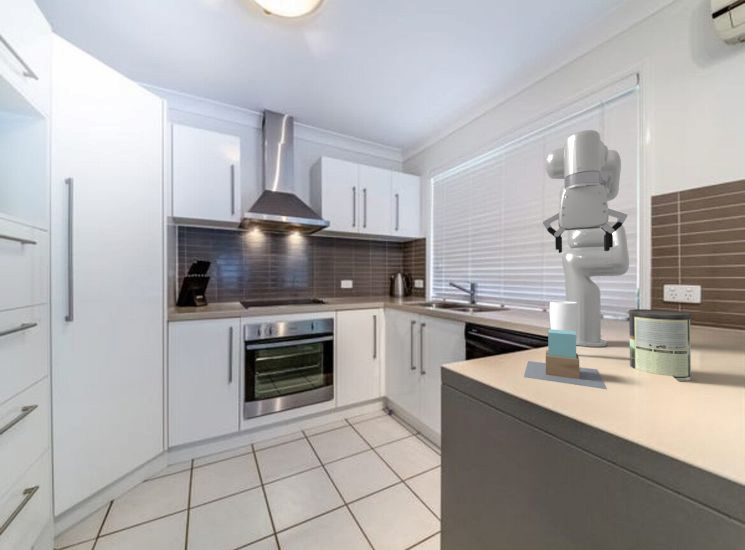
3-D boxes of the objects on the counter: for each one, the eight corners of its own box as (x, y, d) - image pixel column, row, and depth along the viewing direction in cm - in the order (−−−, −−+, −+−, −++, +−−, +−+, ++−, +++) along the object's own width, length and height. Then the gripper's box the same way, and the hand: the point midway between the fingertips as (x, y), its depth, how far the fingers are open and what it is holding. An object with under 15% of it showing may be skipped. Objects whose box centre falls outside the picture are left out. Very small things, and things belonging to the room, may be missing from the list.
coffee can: (618, 366, 75) (617, 309, 75) (664, 367, 74) (663, 309, 74) (652, 380, 64) (652, 314, 64) (706, 382, 63) (705, 314, 63)
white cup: (544, 355, 86) (543, 301, 86) (559, 352, 89) (559, 300, 89) (568, 360, 80) (568, 303, 80) (584, 357, 82) (583, 302, 83)
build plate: (528, 364, 76) (528, 360, 76) (597, 373, 69) (597, 369, 69) (523, 381, 64) (523, 376, 64) (607, 394, 57) (606, 389, 57)
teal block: (548, 350, 70) (548, 329, 70) (574, 353, 67) (574, 331, 67) (548, 355, 66) (548, 332, 66) (576, 358, 63) (576, 334, 63)
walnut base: (546, 367, 71) (546, 350, 71) (577, 371, 68) (577, 353, 68) (545, 374, 65) (545, 356, 66) (579, 379, 62) (579, 359, 62)
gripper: (623, 182, 75) (623, 251, 75) (543, 192, 84) (543, 254, 84) (629, 173, 69) (630, 248, 69) (542, 185, 78) (542, 252, 77)
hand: (582, 251), depth 76 cm, fingers open, 9 cm apart
